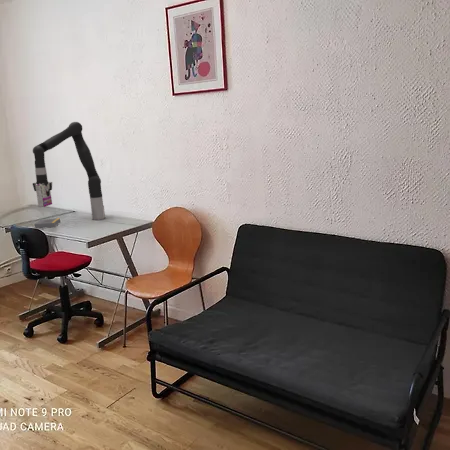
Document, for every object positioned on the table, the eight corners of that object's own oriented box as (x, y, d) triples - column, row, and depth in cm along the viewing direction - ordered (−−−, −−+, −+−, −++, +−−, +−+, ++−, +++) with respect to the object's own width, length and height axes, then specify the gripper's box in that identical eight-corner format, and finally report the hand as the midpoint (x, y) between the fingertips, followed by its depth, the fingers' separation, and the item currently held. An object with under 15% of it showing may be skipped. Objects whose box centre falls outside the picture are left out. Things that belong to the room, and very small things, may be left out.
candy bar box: (46, 204, 349) (43, 182, 346) (52, 204, 348) (49, 182, 345) (37, 207, 339) (34, 185, 335) (43, 207, 338) (41, 185, 334)
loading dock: (60, 222, 355) (59, 217, 354) (54, 227, 340) (53, 222, 339) (41, 223, 354) (41, 218, 354) (34, 228, 339) (34, 223, 338)
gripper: (52, 172, 342) (55, 195, 346) (32, 173, 341) (35, 196, 345) (49, 173, 335) (52, 196, 339) (29, 174, 334) (32, 197, 338)
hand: (44, 196), depth 342 cm, fingers closed on candy bar box, 5 cm apart
